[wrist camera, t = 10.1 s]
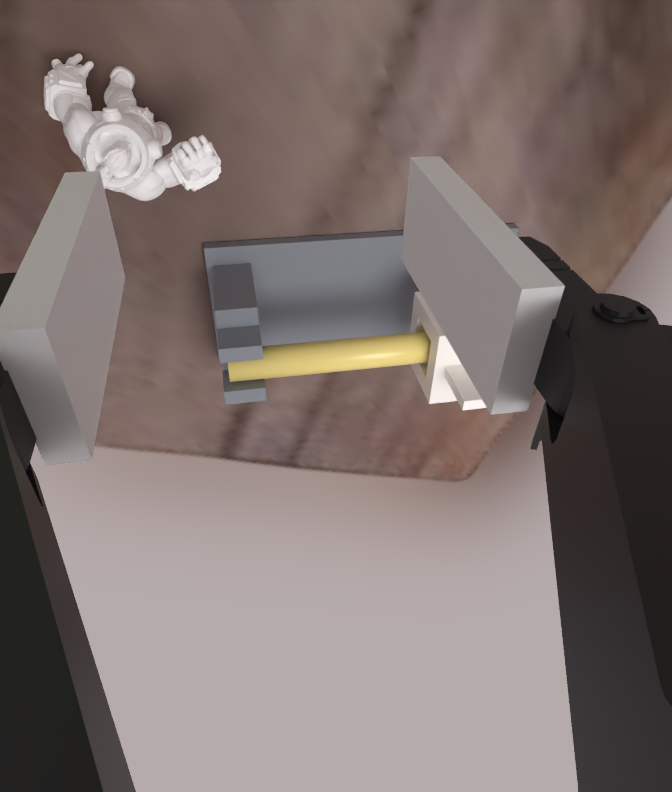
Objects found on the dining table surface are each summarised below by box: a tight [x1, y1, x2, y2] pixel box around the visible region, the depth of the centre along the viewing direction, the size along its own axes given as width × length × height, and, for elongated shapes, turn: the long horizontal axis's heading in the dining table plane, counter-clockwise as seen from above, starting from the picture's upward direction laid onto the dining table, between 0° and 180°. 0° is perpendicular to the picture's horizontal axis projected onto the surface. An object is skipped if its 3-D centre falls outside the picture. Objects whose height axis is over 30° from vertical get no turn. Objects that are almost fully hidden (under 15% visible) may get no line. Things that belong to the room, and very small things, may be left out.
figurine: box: [44, 53, 221, 201], centre depth 35 cm, size 10×5×12 cm, turn 71°
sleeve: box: [410, 292, 487, 410], centre depth 44 cm, size 6×6×10 cm
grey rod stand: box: [204, 223, 536, 405], centre depth 47 cm, size 26×11×12 cm, turn 89°
